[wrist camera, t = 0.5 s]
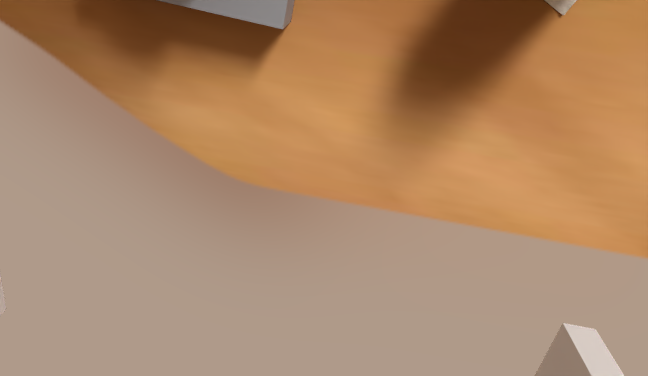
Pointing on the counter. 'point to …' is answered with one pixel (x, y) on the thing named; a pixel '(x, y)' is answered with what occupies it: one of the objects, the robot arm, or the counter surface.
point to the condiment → (561, 5)
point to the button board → (245, 10)
